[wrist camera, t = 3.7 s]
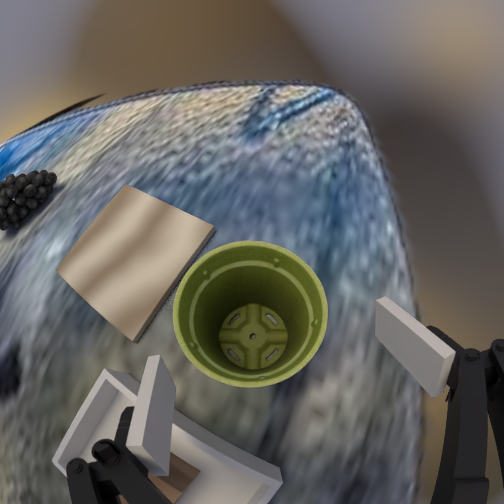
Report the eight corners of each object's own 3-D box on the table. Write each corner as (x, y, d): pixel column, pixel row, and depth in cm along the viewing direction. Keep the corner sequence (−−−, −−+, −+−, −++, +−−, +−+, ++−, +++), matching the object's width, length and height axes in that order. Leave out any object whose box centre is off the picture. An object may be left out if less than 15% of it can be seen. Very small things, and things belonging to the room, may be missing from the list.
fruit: (38, 137, 28) (-28, 187, 24) (41, 182, 26) (-28, 233, 23) (62, 165, 36) (0, 205, 33) (69, 206, 35) (4, 246, 32)
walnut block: (127, 474, 17) (93, 489, 11) (151, 438, 19) (119, 448, 13) (173, 505, 15) (150, 531, 10) (200, 470, 17) (181, 492, 12)
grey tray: (77, 456, 18) (51, 461, 14) (128, 373, 22) (104, 368, 18) (211, 548, 13) (203, 570, 9) (279, 467, 18) (282, 483, 14)
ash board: (60, 273, 27) (55, 270, 27) (128, 188, 33) (125, 183, 32) (136, 343, 24) (132, 341, 23) (215, 231, 29) (213, 225, 28)
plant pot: (251, 268, 27) (246, 215, 19) (327, 331, 24) (357, 301, 16) (180, 336, 24) (144, 309, 16) (256, 409, 21) (253, 420, 13)
